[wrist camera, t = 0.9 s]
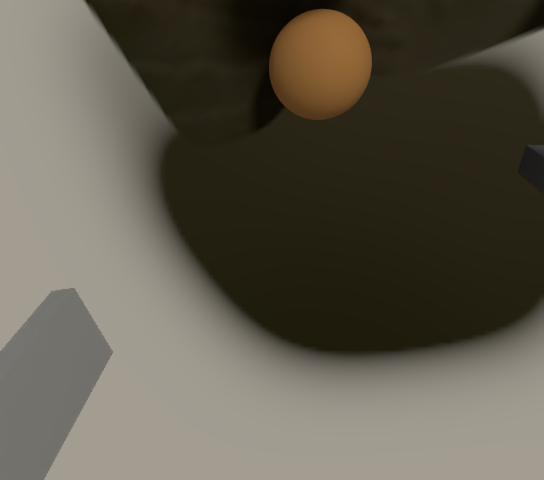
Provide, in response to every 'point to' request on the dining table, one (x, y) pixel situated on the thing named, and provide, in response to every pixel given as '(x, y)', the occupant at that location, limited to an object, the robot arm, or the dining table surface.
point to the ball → (320, 64)
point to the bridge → (533, 166)
